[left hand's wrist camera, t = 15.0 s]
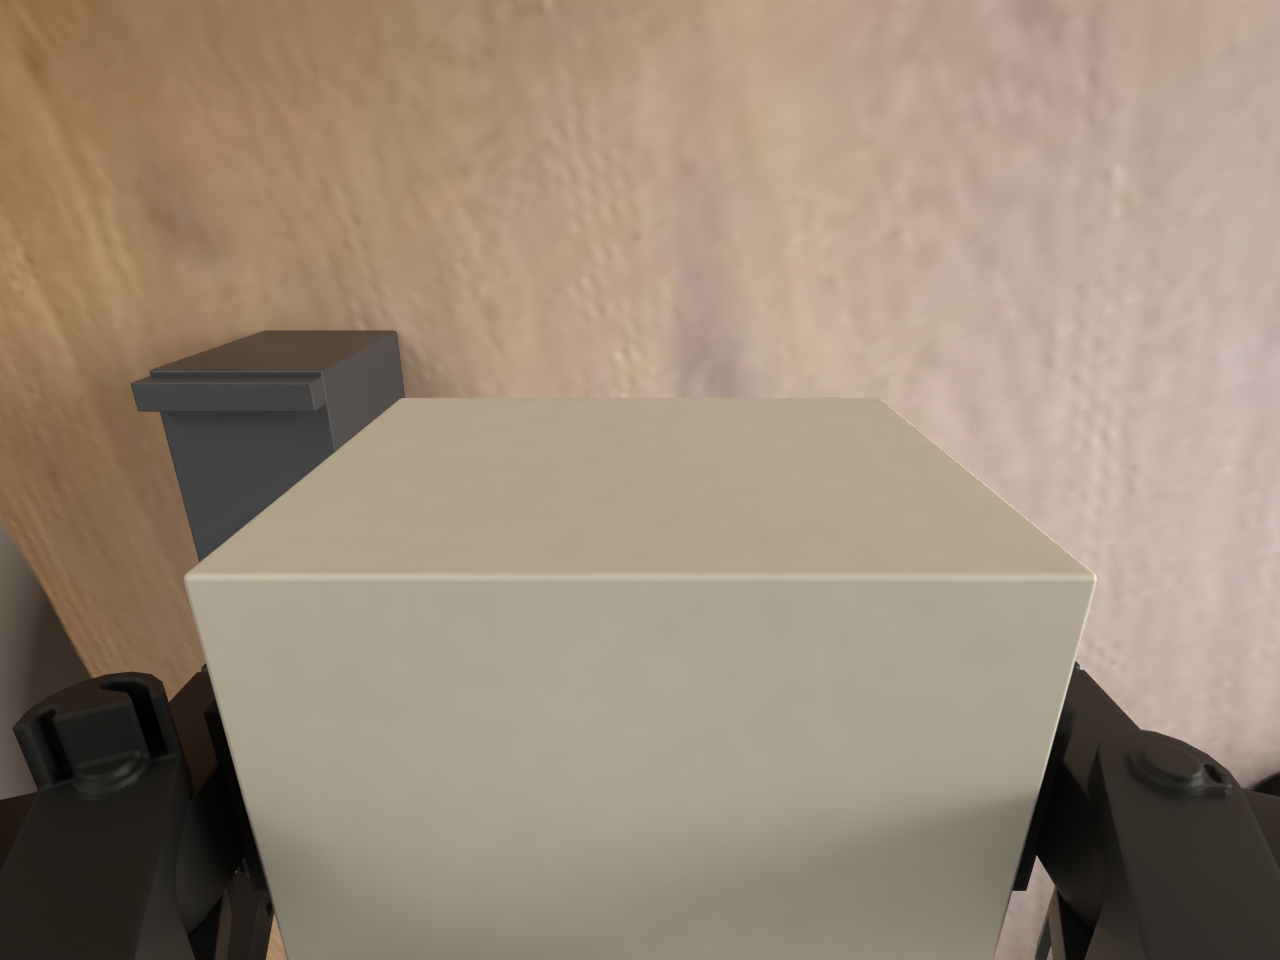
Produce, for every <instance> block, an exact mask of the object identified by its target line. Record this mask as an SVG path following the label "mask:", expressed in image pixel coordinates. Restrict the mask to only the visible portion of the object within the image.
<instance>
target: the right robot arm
mask: <svg viewBox="0 0 1280 960" xmlns="http://www.w3.org/2000/svg"><path fill="white" fill-rule="evenodd" d="M226 891H227V895H228V898H229V902H230V908H231V914H232V919H231V929H230V938H229V947H228V956H227V960H266V955H267V949H268V944H269V938H270V933H271V927H272V922H273V916H274V909H273V906H272V902H271V898H270V895H269V891H254V888H253V885H252V881H251V878H250V874H249V871H248V867H247V864H246V860H245V857H244V859H243V861H242V862H241V864H240V866H239V867H238V869H237V872H236V873H235V874H234V875H233V877H232V879H231V880H230V882H229V884H228V885H227V887H226Z"/></svg>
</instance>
